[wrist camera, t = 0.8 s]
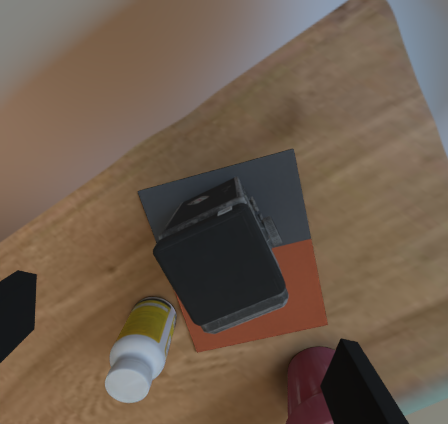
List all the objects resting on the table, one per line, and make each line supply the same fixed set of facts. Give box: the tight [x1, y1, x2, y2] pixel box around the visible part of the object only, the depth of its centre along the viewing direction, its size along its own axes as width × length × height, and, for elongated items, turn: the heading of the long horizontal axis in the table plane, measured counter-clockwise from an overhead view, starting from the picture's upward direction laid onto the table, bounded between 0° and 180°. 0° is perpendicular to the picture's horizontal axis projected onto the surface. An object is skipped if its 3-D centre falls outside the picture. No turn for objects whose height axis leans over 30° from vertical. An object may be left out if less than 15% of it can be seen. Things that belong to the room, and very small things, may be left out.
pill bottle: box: [105, 297, 176, 403], centre depth 33 cm, size 6×6×12 cm
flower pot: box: [286, 347, 335, 424], centre depth 35 cm, size 14×14×13 cm
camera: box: [153, 177, 289, 334], centre depth 27 cm, size 10×11×15 cm
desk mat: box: [138, 149, 328, 353], centre depth 36 cm, size 20×26×1 cm
